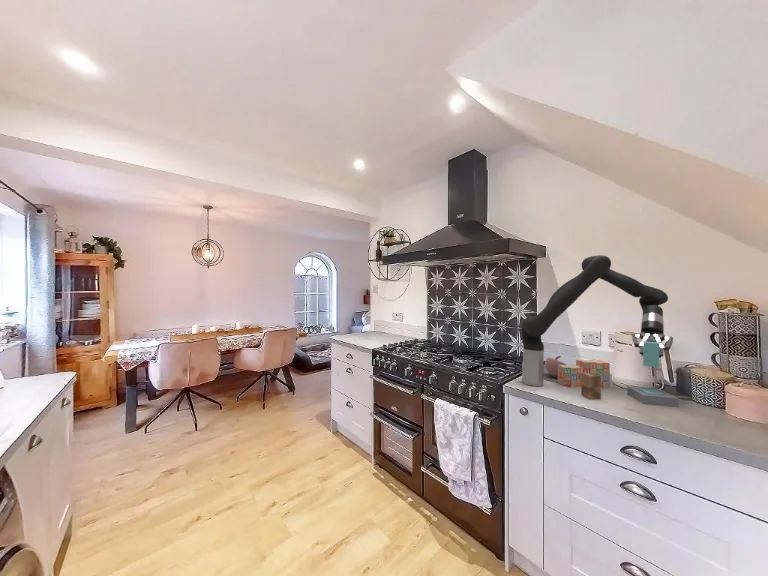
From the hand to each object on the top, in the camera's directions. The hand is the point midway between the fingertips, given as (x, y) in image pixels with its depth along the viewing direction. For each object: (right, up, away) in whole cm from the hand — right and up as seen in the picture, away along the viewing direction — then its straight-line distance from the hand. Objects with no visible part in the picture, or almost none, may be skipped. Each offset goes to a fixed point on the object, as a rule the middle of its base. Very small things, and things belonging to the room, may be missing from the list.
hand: (651, 355), depth 126 cm
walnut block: (-23, -19, +4) cm, 30 cm away
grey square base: (+1, -20, +1) cm, 20 cm away
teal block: (+1, -5, +1) cm, 5 cm away
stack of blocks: (-15, -20, +21) cm, 33 cm away
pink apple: (-19, -20, +35) cm, 45 cm away
